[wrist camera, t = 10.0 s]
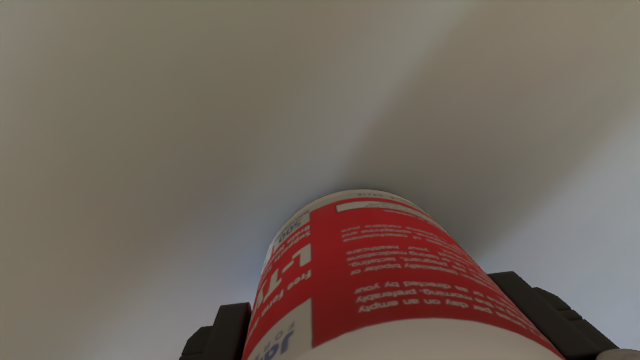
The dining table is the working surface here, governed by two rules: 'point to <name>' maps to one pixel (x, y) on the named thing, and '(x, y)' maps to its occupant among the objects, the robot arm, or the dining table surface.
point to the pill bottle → (380, 290)
